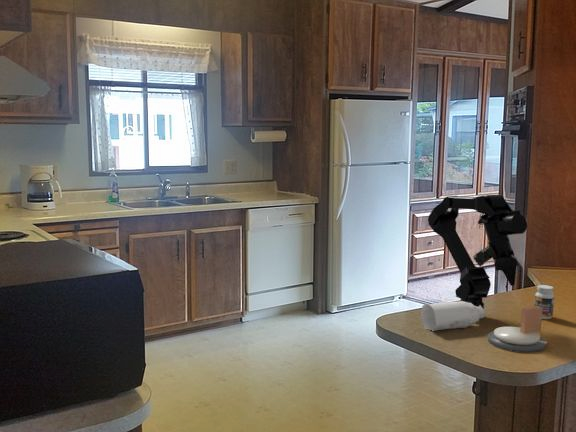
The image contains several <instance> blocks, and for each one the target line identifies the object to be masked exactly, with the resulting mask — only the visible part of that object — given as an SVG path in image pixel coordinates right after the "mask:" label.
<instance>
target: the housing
mask: <svg viewBox="0 0 576 432" xmlns="http://www.w3.org/2000/svg"><path fill="white" fill-rule="evenodd" d="M487 341H488V342H490V343H489V344H491V345H492V344H493V345H492V346H494V345H495V346H494V347H496V346H497V347H496V348H498V347H500V348H499V349H501V348H503V349H502V350H505V349H507V350H506V351H509V350H512V351H511V352H515V351H519V352H518V353H535V352H540V351H543V350H544V349H545V348H546V344H547V343H548V342H547V341H546V340H545V339H544V337H541V336H540V341H539V342H538V343H536V344H532V345H517V344H511V343H506V342H503V341H500V340H498V339H496V338H495V337H494V331H491V332H490V333H489V334H488V336H487Z"/></svg>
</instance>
